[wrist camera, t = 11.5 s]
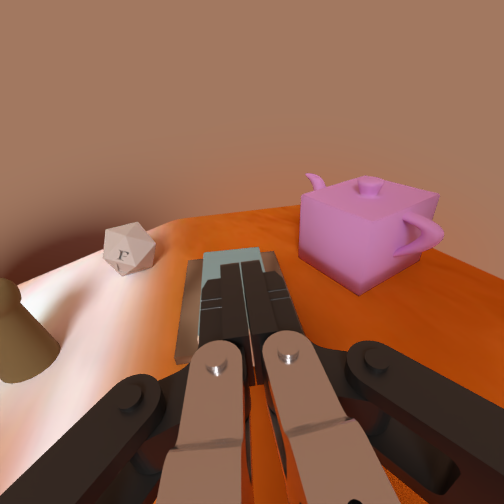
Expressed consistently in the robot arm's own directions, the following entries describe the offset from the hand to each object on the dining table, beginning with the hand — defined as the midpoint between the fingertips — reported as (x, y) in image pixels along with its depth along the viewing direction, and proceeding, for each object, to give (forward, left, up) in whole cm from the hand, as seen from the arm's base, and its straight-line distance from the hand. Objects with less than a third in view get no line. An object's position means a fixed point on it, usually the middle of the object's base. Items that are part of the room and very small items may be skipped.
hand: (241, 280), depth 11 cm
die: (+17, -34, -20) cm, 43 cm away
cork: (+25, -16, -20) cm, 36 cm away
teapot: (-21, -30, -20) cm, 42 cm away
